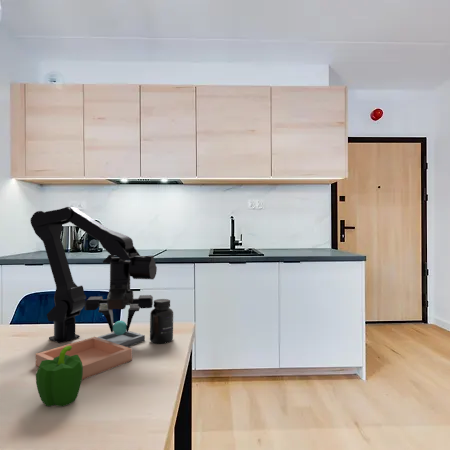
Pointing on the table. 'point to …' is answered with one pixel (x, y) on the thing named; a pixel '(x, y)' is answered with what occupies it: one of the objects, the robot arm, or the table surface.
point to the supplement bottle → (161, 322)
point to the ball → (119, 327)
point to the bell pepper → (59, 379)
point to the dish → (92, 355)
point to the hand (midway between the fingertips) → (119, 331)
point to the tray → (124, 338)
